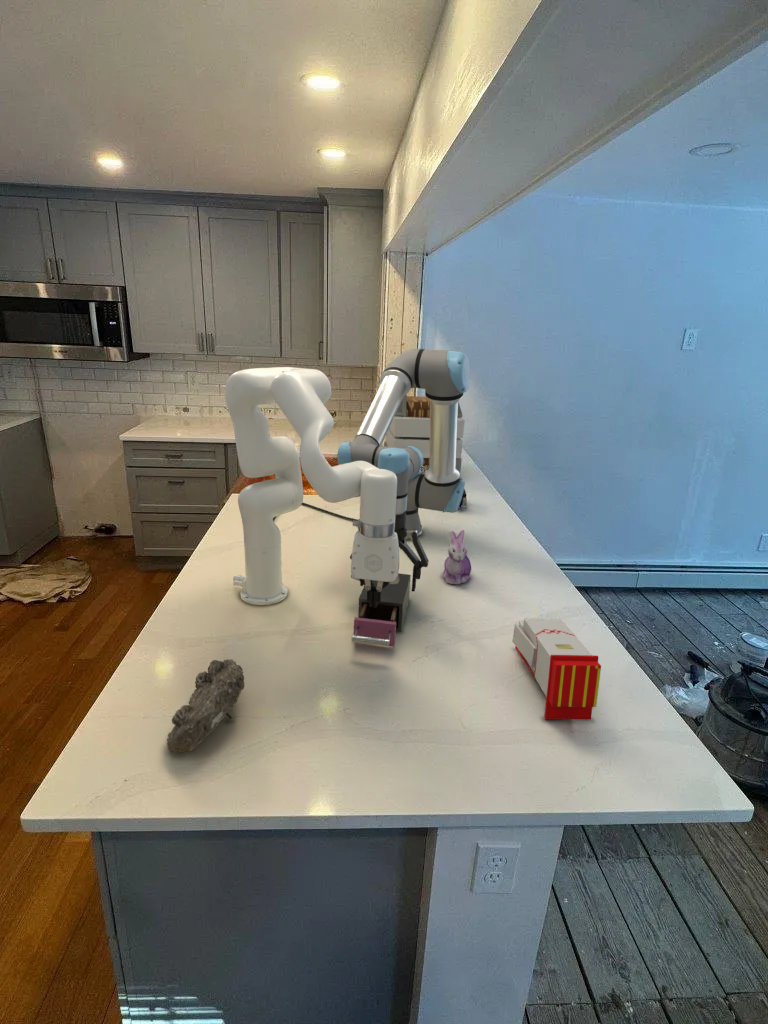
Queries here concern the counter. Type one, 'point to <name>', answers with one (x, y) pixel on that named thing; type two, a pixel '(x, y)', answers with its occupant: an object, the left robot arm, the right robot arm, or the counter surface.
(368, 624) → the drawer
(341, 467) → the left robot arm
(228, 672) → the fossil
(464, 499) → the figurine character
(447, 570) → the figurine
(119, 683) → the counter surface
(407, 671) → the counter surface
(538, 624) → the toy
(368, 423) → the right robot arm
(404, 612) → the cabinet
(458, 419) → the white slatted crate
